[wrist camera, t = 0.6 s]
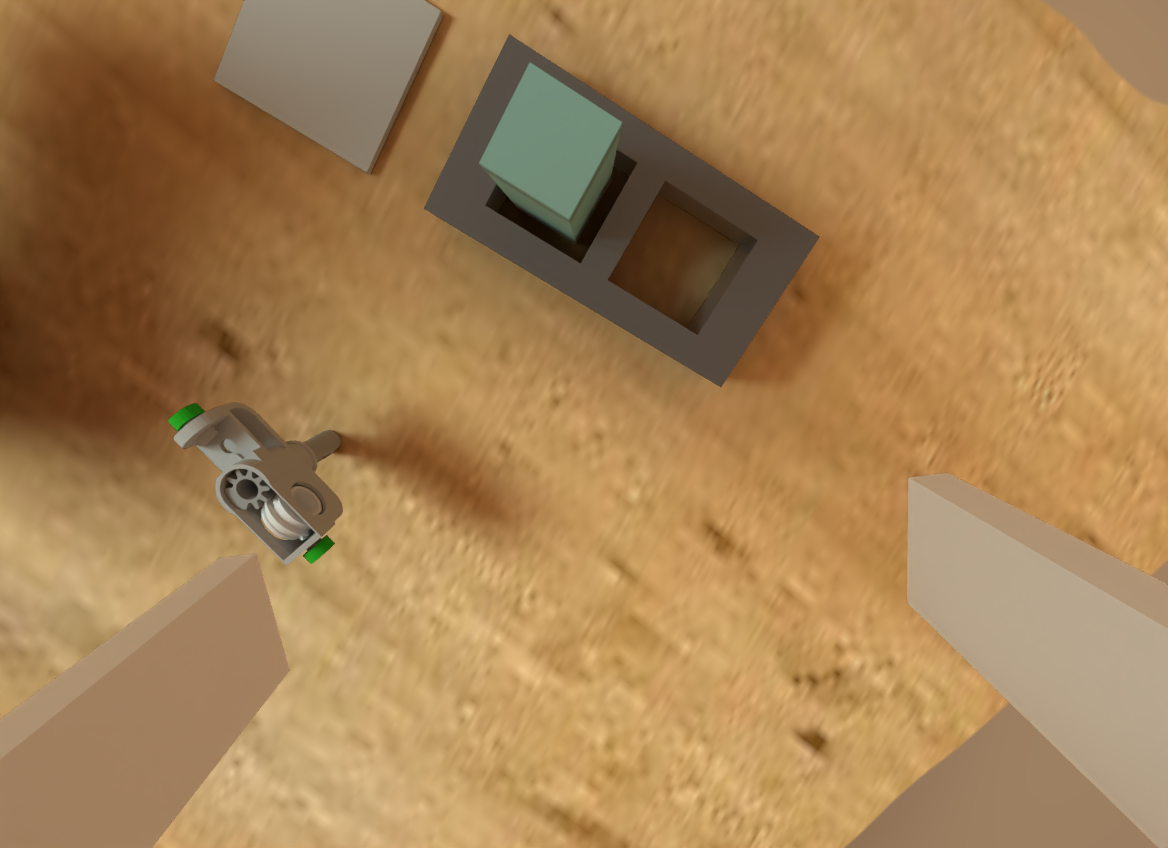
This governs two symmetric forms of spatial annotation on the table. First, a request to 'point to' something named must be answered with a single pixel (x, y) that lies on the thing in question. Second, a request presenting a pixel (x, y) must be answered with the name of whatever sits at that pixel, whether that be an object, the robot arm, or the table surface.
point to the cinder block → (631, 226)
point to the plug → (553, 153)
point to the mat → (330, 66)
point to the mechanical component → (266, 477)
